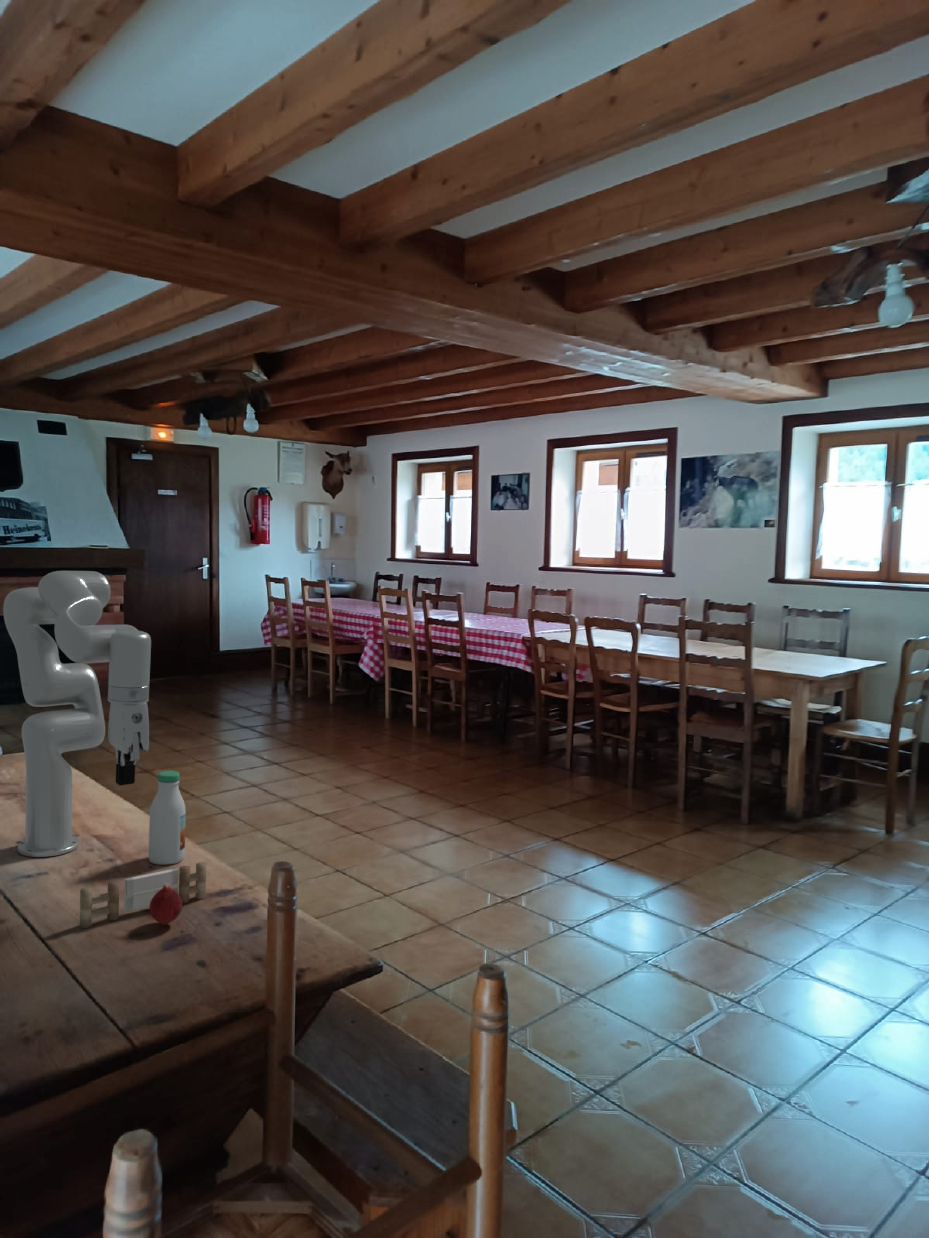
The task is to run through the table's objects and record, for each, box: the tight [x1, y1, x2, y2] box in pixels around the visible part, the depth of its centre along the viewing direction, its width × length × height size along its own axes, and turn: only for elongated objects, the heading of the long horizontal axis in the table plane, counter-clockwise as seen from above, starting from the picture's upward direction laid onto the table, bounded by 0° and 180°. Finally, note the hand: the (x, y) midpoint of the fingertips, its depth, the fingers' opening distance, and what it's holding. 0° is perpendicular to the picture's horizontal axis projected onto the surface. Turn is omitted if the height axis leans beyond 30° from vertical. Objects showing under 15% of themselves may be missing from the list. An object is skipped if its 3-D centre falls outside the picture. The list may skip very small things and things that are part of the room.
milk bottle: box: [148, 770, 187, 866], centre depth 192 cm, size 8×8×20 cm
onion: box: [148, 883, 183, 926], centre depth 161 cm, size 6×6×8 cm
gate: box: [124, 867, 179, 913], centre depth 167 cm, size 10×1×6 cm, turn 130°
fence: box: [79, 861, 207, 929], centre depth 166 cm, size 2×24×7 cm, turn 131°
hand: (125, 783), depth 170 cm, fingers closed
